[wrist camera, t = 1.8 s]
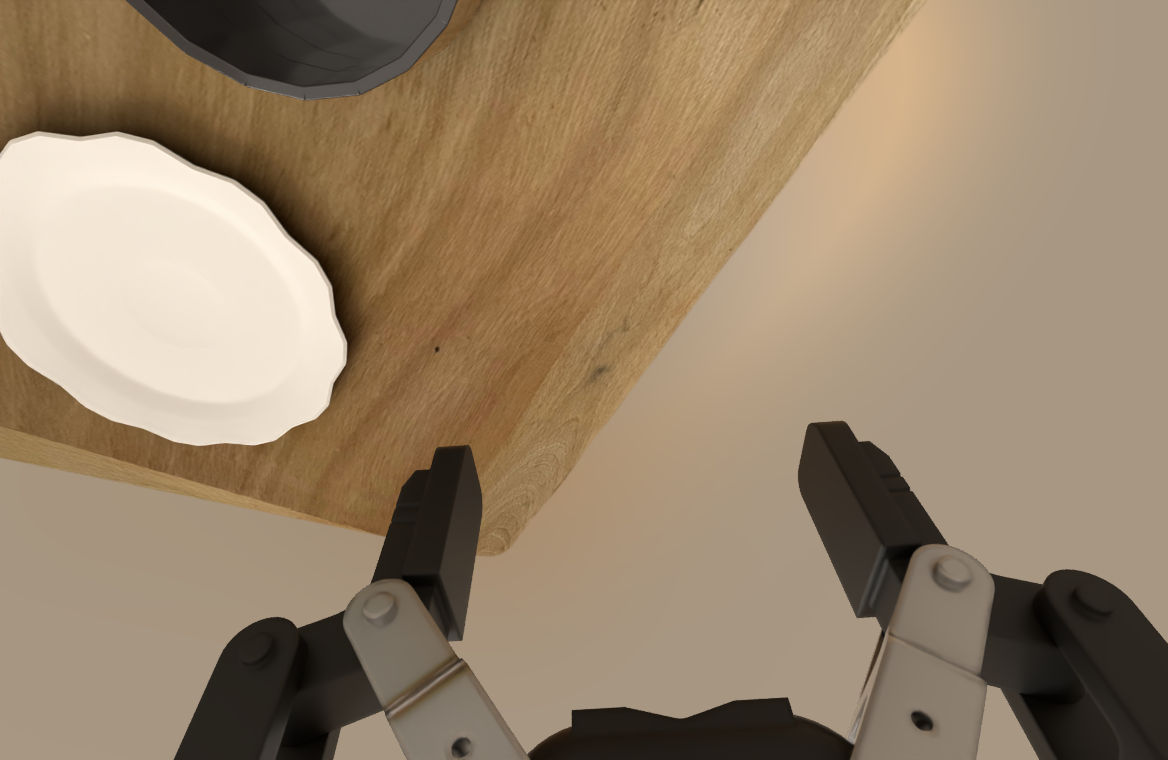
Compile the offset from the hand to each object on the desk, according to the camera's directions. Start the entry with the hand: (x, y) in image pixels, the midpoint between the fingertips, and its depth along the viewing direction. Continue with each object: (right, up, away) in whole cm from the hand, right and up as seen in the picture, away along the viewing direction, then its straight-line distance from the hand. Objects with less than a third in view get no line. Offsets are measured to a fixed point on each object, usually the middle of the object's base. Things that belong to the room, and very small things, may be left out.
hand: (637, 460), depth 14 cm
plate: (-32, +8, +29) cm, 44 cm away
